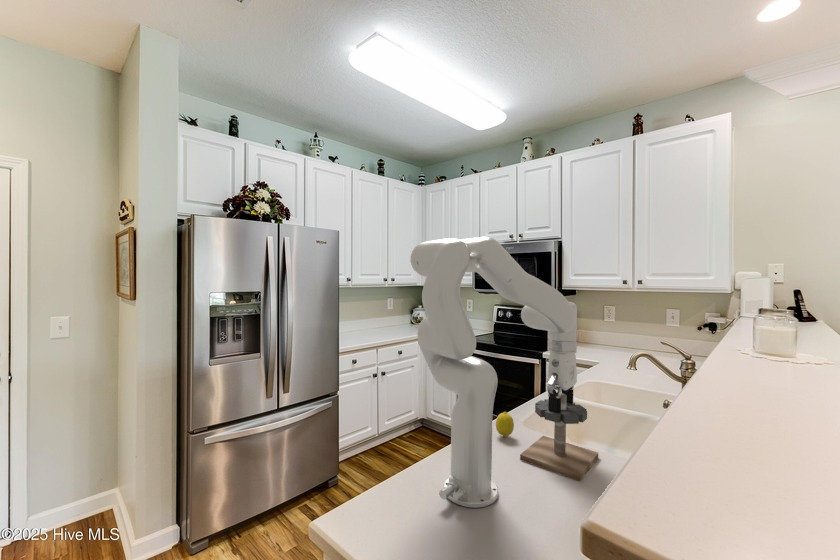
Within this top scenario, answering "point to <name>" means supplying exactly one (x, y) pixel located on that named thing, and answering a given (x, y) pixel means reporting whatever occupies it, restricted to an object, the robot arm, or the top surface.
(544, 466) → the pipe stand
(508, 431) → the lemon
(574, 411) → the grey flat ring
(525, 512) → the top surface
